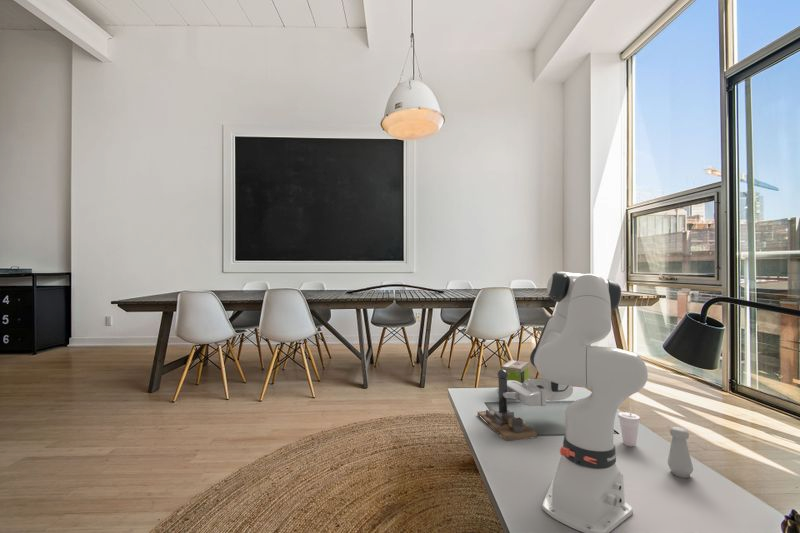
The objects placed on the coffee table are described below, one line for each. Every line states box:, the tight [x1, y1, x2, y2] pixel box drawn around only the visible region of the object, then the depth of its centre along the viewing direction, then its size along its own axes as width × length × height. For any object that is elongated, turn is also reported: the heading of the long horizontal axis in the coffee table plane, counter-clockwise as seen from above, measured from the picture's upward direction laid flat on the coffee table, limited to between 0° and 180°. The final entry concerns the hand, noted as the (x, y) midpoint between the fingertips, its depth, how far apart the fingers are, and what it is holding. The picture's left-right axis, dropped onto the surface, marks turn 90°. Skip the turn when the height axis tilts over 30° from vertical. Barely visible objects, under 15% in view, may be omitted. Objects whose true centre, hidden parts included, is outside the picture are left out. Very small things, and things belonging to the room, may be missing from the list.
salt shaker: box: [667, 426, 694, 479], centre depth 102 cm, size 6×6×13 cm
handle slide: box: [493, 369, 515, 424], centre depth 136 cm, size 6×5×19 cm
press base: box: [477, 409, 538, 442], centre depth 135 cm, size 23×12×6 cm, turn 13°
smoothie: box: [617, 402, 641, 447], centre depth 120 cm, size 6×6×14 cm
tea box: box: [500, 359, 531, 383], centre depth 172 cm, size 15×10×15 cm, turn 144°
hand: (500, 393), depth 136 cm, fingers closed on handle slide, 3 cm apart
